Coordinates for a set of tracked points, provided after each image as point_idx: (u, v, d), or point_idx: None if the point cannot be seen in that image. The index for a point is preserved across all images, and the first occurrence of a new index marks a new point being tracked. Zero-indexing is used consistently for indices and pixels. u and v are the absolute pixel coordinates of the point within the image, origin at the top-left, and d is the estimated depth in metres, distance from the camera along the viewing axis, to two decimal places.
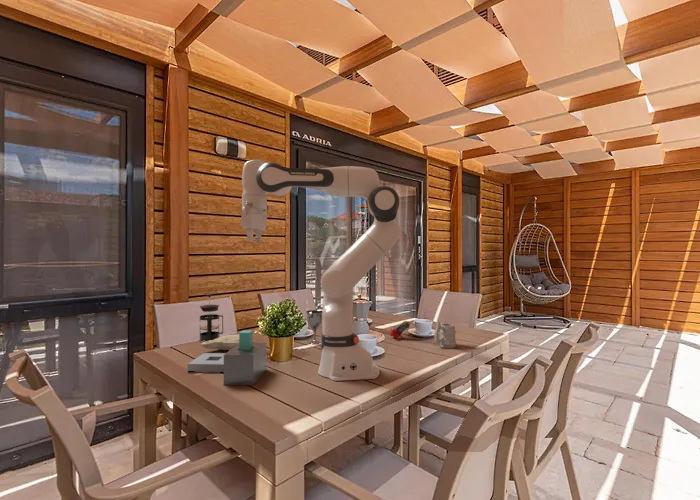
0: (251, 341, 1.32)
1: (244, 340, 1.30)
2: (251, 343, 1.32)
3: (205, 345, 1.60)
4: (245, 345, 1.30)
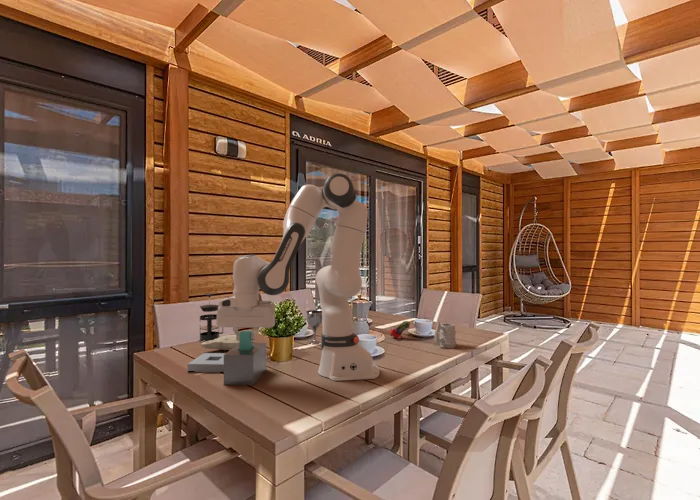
0: (251, 341, 1.32)
1: (244, 340, 1.30)
2: (251, 343, 1.32)
3: (205, 345, 1.60)
4: (245, 345, 1.30)
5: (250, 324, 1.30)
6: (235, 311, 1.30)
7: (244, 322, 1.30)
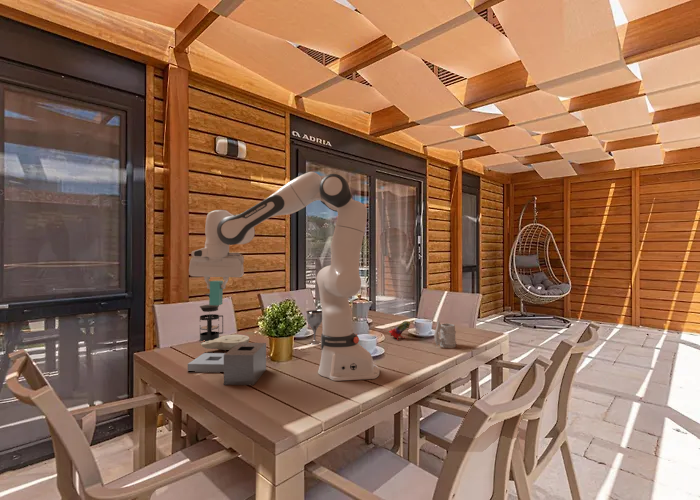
0: (221, 290, 1.42)
1: (214, 288, 1.40)
2: (221, 292, 1.42)
3: (205, 345, 1.60)
4: (215, 293, 1.40)
5: (220, 273, 1.40)
6: (206, 261, 1.40)
7: (214, 272, 1.40)
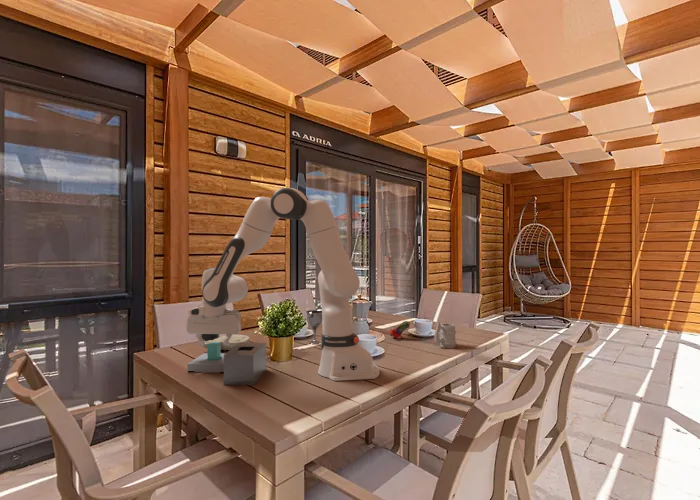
0: (219, 352, 1.43)
1: (212, 351, 1.41)
2: (219, 354, 1.43)
3: (205, 345, 1.60)
4: (213, 356, 1.41)
5: (217, 331, 1.41)
6: (204, 319, 1.41)
7: (212, 329, 1.41)
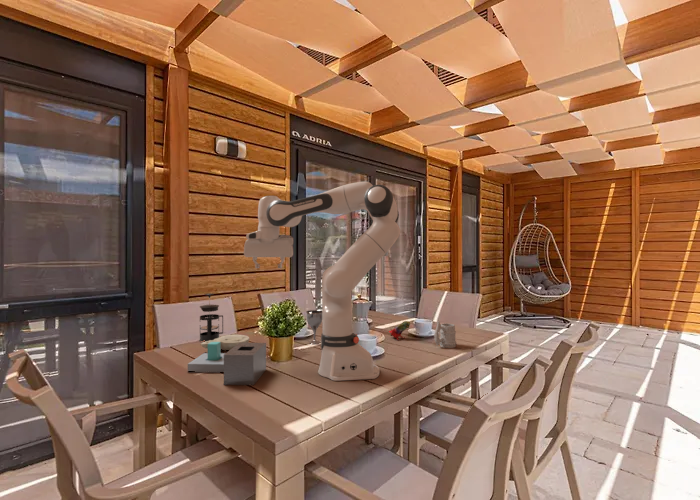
0: (219, 352, 1.43)
1: (212, 351, 1.41)
2: (219, 354, 1.43)
3: (205, 345, 1.60)
4: (213, 356, 1.41)
5: (272, 254, 1.53)
6: (260, 243, 1.54)
7: (267, 252, 1.53)
